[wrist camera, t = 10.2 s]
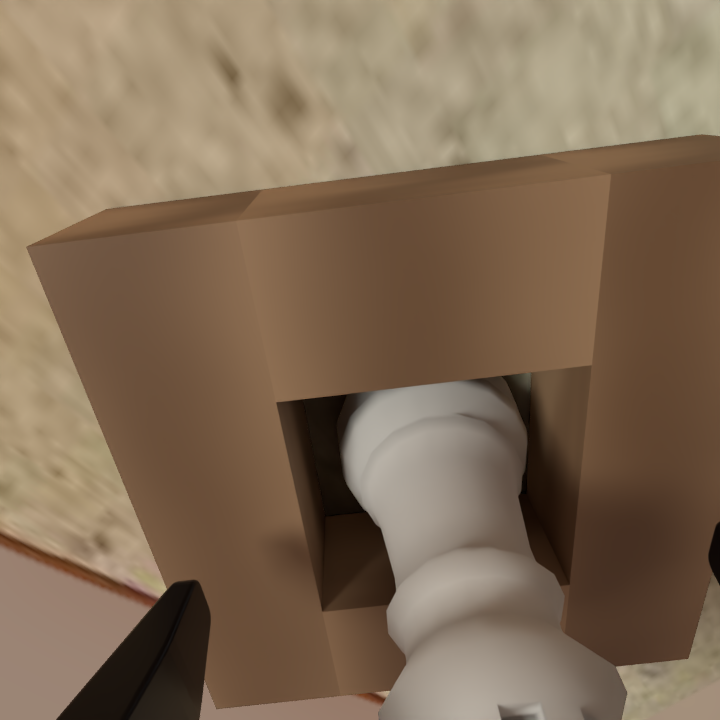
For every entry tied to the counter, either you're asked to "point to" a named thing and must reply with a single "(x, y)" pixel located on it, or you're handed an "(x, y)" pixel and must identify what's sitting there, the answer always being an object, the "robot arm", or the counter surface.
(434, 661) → the rook chess piece
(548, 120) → the counter surface
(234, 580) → the walnut socket
